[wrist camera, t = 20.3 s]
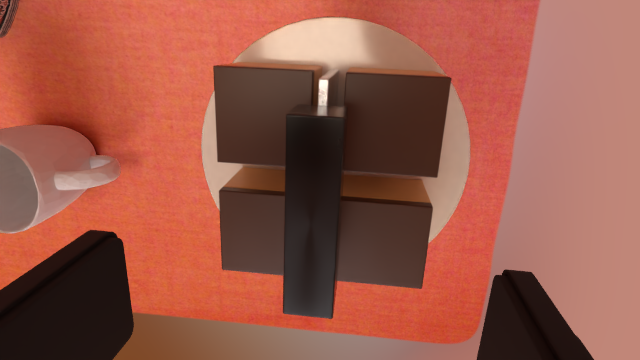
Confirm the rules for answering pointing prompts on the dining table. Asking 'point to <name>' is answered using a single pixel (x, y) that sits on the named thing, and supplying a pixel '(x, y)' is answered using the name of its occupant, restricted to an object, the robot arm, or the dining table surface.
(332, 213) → the knife
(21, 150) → the mug
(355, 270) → the cake
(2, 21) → the lighter
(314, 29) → the cake stand
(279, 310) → the dining table surface
